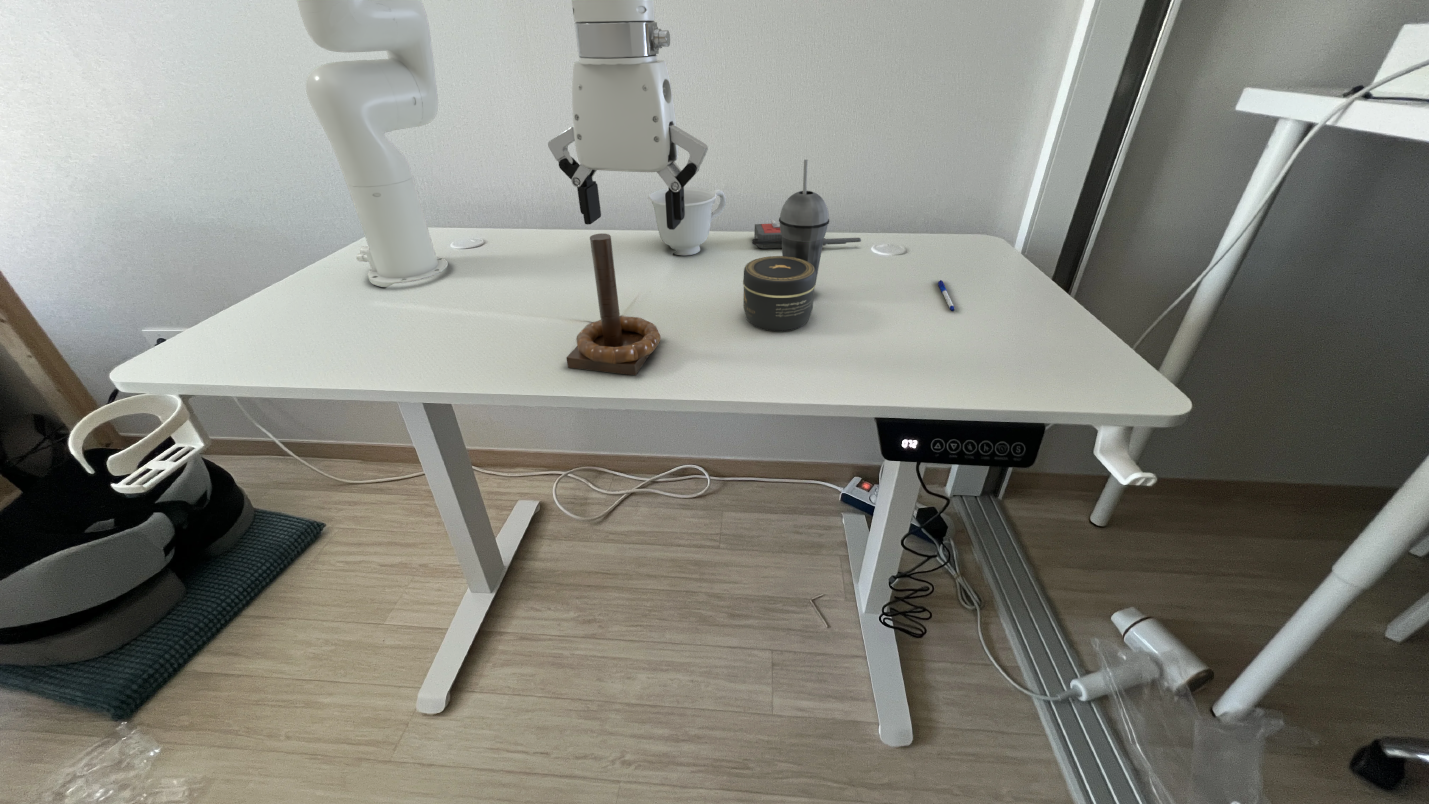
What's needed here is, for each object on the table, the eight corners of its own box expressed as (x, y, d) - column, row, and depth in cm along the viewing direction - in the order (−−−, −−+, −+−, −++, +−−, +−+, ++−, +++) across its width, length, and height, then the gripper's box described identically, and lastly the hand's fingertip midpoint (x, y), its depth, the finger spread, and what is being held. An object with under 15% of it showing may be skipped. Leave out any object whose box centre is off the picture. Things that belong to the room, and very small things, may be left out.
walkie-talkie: (753, 253, 107) (861, 249, 108) (754, 229, 104) (864, 225, 105) (747, 238, 114) (848, 234, 115) (748, 215, 111) (851, 211, 113)
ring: (563, 361, 72) (561, 346, 71) (598, 324, 80) (596, 310, 79) (643, 370, 70) (642, 355, 69) (670, 331, 78) (669, 317, 77)
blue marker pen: (935, 284, 94) (937, 278, 94) (941, 284, 94) (942, 278, 94) (950, 312, 86) (951, 305, 85) (956, 312, 86) (958, 306, 85)
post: (567, 367, 73) (546, 247, 65) (596, 335, 81) (580, 222, 72) (635, 375, 72) (622, 252, 63) (658, 341, 79) (650, 227, 70)
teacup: (742, 250, 108) (743, 194, 103) (672, 266, 102) (668, 208, 96) (708, 233, 117) (707, 181, 111) (641, 247, 110) (636, 192, 105)
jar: (732, 309, 87) (733, 259, 83) (794, 299, 90) (797, 251, 85) (757, 338, 79) (759, 285, 75) (824, 327, 82) (829, 275, 77)
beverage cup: (827, 289, 93) (841, 155, 82) (814, 307, 87) (827, 165, 76) (784, 282, 95) (791, 151, 84) (768, 299, 90) (774, 161, 79)
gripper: (713, 42, 57) (716, 218, 67) (552, 43, 61) (576, 210, 70) (693, 46, 51) (699, 239, 61) (515, 47, 55) (547, 229, 64)
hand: (633, 223), depth 66 cm, fingers open, 9 cm apart
